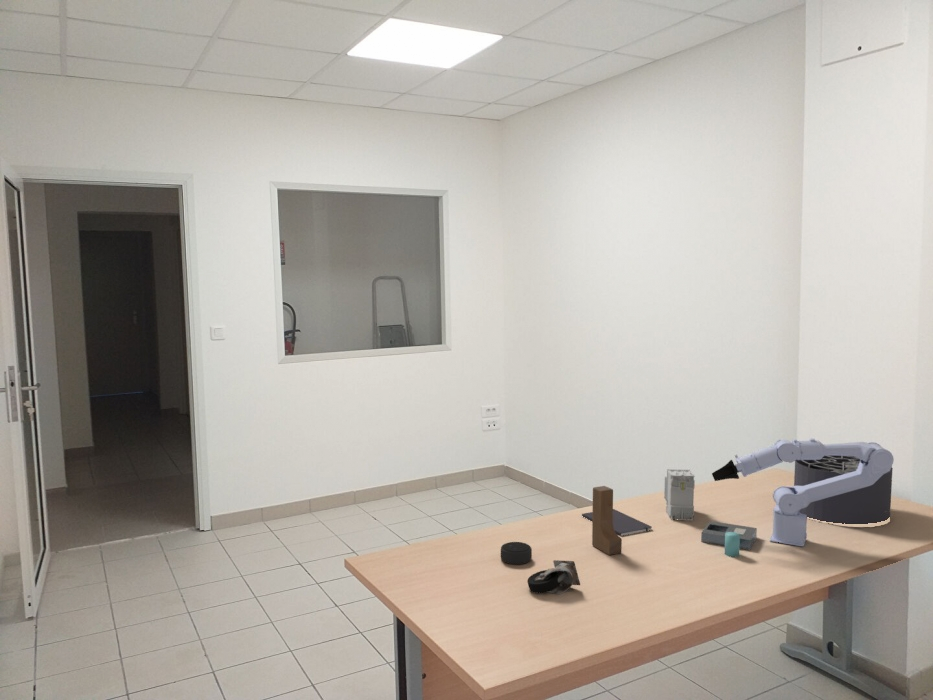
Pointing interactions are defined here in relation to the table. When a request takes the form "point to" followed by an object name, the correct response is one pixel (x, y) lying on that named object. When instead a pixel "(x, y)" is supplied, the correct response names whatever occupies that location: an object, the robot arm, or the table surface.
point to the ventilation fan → (847, 506)
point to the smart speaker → (516, 553)
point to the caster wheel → (554, 578)
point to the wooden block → (604, 522)
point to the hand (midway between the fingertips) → (713, 477)
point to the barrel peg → (732, 544)
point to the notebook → (623, 523)
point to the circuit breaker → (679, 494)
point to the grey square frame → (717, 531)
